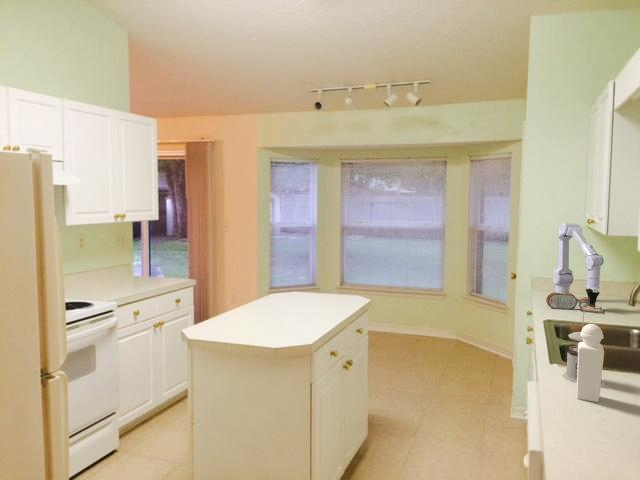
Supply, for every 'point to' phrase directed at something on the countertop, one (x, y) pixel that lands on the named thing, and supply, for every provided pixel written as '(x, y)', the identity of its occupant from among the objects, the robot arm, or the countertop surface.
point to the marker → (590, 305)
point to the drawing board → (586, 309)
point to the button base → (582, 302)
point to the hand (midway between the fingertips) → (591, 303)
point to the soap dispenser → (590, 363)
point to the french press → (573, 359)
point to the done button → (584, 299)
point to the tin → (561, 300)
